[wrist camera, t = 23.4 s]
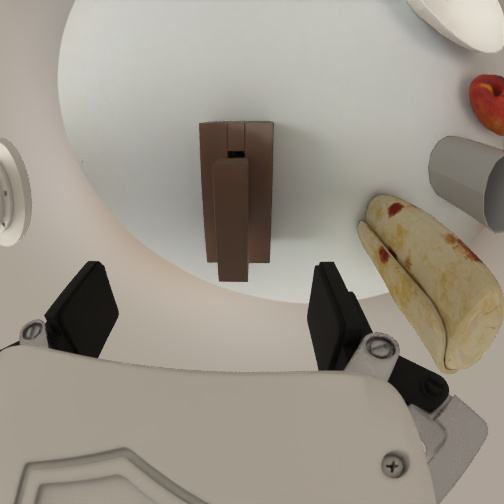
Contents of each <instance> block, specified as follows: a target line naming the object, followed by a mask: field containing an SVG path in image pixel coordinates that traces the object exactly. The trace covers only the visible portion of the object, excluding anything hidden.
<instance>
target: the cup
mask: <svg viewBox="0 0 504 504" xmlns="http://www.w3.org/2000/svg"><path fill="white" fill-rule="evenodd" d="M428 169H429V176H430V183H431V185H432V187H433V188H434V190H435V192H436V194H437V195H439V196H441V197H442V198H444V199H445V200H447V201H448V202H450V203H452V204H453V205H455V206H456V207H458V208H460V209H461V210H463V211H464V212H466V213H467V214H469V215H470V216H472V217H473V218H474V219H476V220H477V221H479V222H480V223H482V224H483V225H484V226H486V227H487V228H489V229H490V230H491V231H493V232H494V233H502V232H504V151H503V150H501V149H498V148H495V147H492V146H488V145H485V144H482V143H479V142H475V141H472V140H468V139H464V138H461V137H455V136H447V137H445V138H444V139H442V140H440V141H438V143H437V145H436V146H435V148H434V150H433V151H432V153H431V157H430V163H429V168H428Z"/></svg>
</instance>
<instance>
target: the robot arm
mask: <svg viewBox="0 0 504 504" xmlns="http://www.w3.org/2000/svg"><path fill="white" fill-rule="evenodd" d="M12 217H13V194H12V189H11V185H10V181H9V178H8V176H7V174H6V172H5V170H4V168H3V166H2V165H1V164H0V233H2V232H3V231H5V230H6V229H7V228H8V227H9V226H10V224H11V221H12ZM118 315H119V311H118V308H117V305H116V302H115V299H114V296H113V293H112V290H111V287H110V284H109V280H108V278H107V274H106V271H105V267H104V265H102V264H101V263H100V262H99V261H88V262H87V263H86V264H85V265H84V266H83V268H82V269H81V270H80V271H79V272H78V274H77V275H76V276H75V277H74V278H73V279H72V281H71V282H70V283H69V284H68V285H67V287H66V288H65V289H64V290H63V292H62V293H61V294H60V295H59V297H58V298H57V299H56V301H55V302H54V303H53V304H52V306H51V307H50V309H49V310H48V311H47V312H46V314H45V315H44V316H45V318H46V320H47V322H46V323H44V322H43V321H42V320H39V319H38V320H32V321H30V322H28V323H27V324H26V325H25V326H24V327H23V328H22V329H21V332H20V336H19V337H20V341H18V342H16V343H14V344H12V345H10V346H8V347H5V348H3V349H1V350H0V504H439V503H440V502H441V501H442V500H443V499H444V498H445V496H446V495H447V494H448V493H449V492H450V490H451V489H452V488H453V487H454V485H455V484H456V483H457V481H458V480H459V479H460V477H461V476H462V475H463V473H464V472H465V470H466V469H467V468H468V466H469V465H470V463H471V462H472V460H473V459H474V457H475V456H476V454H477V453H478V451H479V449H480V448H481V446H482V445H483V443H484V441H485V439H486V437H487V435H488V427H487V424H486V422H485V421H484V420H483V419H482V418H481V417H480V416H479V415H478V414H477V413H475V412H474V411H473V410H472V409H471V408H470V407H469V406H467V405H466V404H465V403H464V402H463V401H462V400H460V399H459V398H458V397H457V396H456V395H454V396H453V397H452V396H450V394H449V387H448V384H447V382H446V381H445V380H444V378H442V377H441V376H440V375H438V374H436V373H434V372H432V371H430V370H428V369H426V368H424V367H422V366H419V365H418V364H416V363H413V362H411V361H409V360H407V359H405V358H403V357H401V356H399V352H400V348H399V345H398V343H397V341H396V340H395V339H393V337H391V336H389V335H387V334H384V333H378V332H375V333H373V332H372V330H371V328H370V326H369V324H368V321H367V319H366V317H365V315H364V313H363V311H362V309H361V307H360V304H359V303H358V300H357V298H356V296H355V294H354V293H353V292H348V290H347V288H346V286H345V284H344V282H343V280H342V278H341V276H340V273H339V271H338V269H337V267H336V265H335V264H334V262H320V263H319V265H316V266H315V269H314V275H313V282H312V289H311V295H310V302H309V308H308V314H307V322H308V326H309V330H310V334H311V339H312V343H313V347H314V352H315V356H316V360H317V365H318V370H319V371H291V372H222V371H201V370H185V369H173V368H163V367H154V366H145V365H137V364H130V363H123V362H117V361H110V360H104V359H99V358H98V357H99V355H100V353H101V350H102V349H103V346H104V344H105V342H106V340H107V338H108V336H109V334H110V332H111V330H112V328H113V326H114V324H115V322H116V320H117V318H118ZM421 441H422V442H423V443H424V445H425V447H426V453H425V452H424V449H423V445H422V442H421Z"/></svg>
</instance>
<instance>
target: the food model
mask: <svg viewBox="0 0 504 504" xmlns="http://www.w3.org/2000/svg"><path fill="white" fill-rule="evenodd" d="M357 230H358V234H359V237H360V240H361V242H362V244H363V247H364V248H365V250H366V251H367V253H368V254H369V256H370V258H371V259H372V261H373V262H374V264H375V266H376V268H377V269H378V271H379V273H380V275H381V276H382V278H383V280H384V282H385V284H386V286H387V288H388V290H389V292H390V294H391V295H392V297H393V299H394V301H395V302H396V304H397V306H398V307H399V309H400V310H401V311H402V313H403V314H404V315H405V316H406V318H407V319H408V321H409V322H410V323H411V325H412V326H413V328H414V329H415V331H416V332H417V334H418V336H419V337H420V339H421V341H422V342H423V343H424V345H425V347H426V348H427V350H428V351H429V353H430V354H431V356H432V358H433V360H434V362H435V363H436V366H437V368H438V369H439V370H440V371H441V372H442V373H445V374H453V373H456V372H457V371H458V370H462V369H466V368H468V367H471V366H472V365H473V364H475V363H476V362H478V361H479V360H480V358H481V357H482V355H483V354H484V353H485V352H486V350H487V349H488V348H489V347H490V346H491V344H492V342H493V340H494V339H495V337H496V335H497V333H498V331H499V329H500V327H501V324H502V321H503V317H504V298H503V293H502V290H501V287H500V285H499V283H498V281H497V280H496V278H495V277H494V275H493V274H492V273H491V272H490V270H489V269H488V268H487V267H486V266H485V264H483V262H482V261H481V260H480V259H479V258H478V257H477V256H476V255H475V254H474V253H473V252H472V251H471V250H470V249H469V248H468V247H467V246H466V245H465V244H464V243H463V242H462V241H461V240H460V239H459V238H458V237H457V236H456V235H455V234H454V233H453V232H451V231H450V230H449V229H448V228H446V227H445V226H444V225H442V224H441V223H440V222H439V221H438V220H436V219H435V218H434V217H432V216H431V215H429V214H428V213H426V212H425V211H423V210H421V209H420V208H418V207H416V206H414V205H412V204H410V203H408V202H406V201H403V200H401V199H399V198H397V197H394V196H391V195H379V196H376V197H375V198H374V199H372V200H371V202H370V204H369V206H368V208H367V212H366V220H365V222H363V221H360V223H359V225H358V227H357Z"/></svg>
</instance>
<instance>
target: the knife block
mask: <svg viewBox="0 0 504 504" xmlns="http://www.w3.org/2000/svg"><path fill="white" fill-rule="evenodd" d="M273 128H274V123H273V122H271V121H219V122H205V123H199V131H200V160H201V181H202V199H203V214H204V228H205V241H206V253H207V262H217V247H216V230H215V212H214V191H213V164H214V163H215V162H216V161H217V159H218V158H233V151H245V158H248V232H249V263H270V240H271V211H272V176H273ZM217 263H218V262H217Z"/></svg>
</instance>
